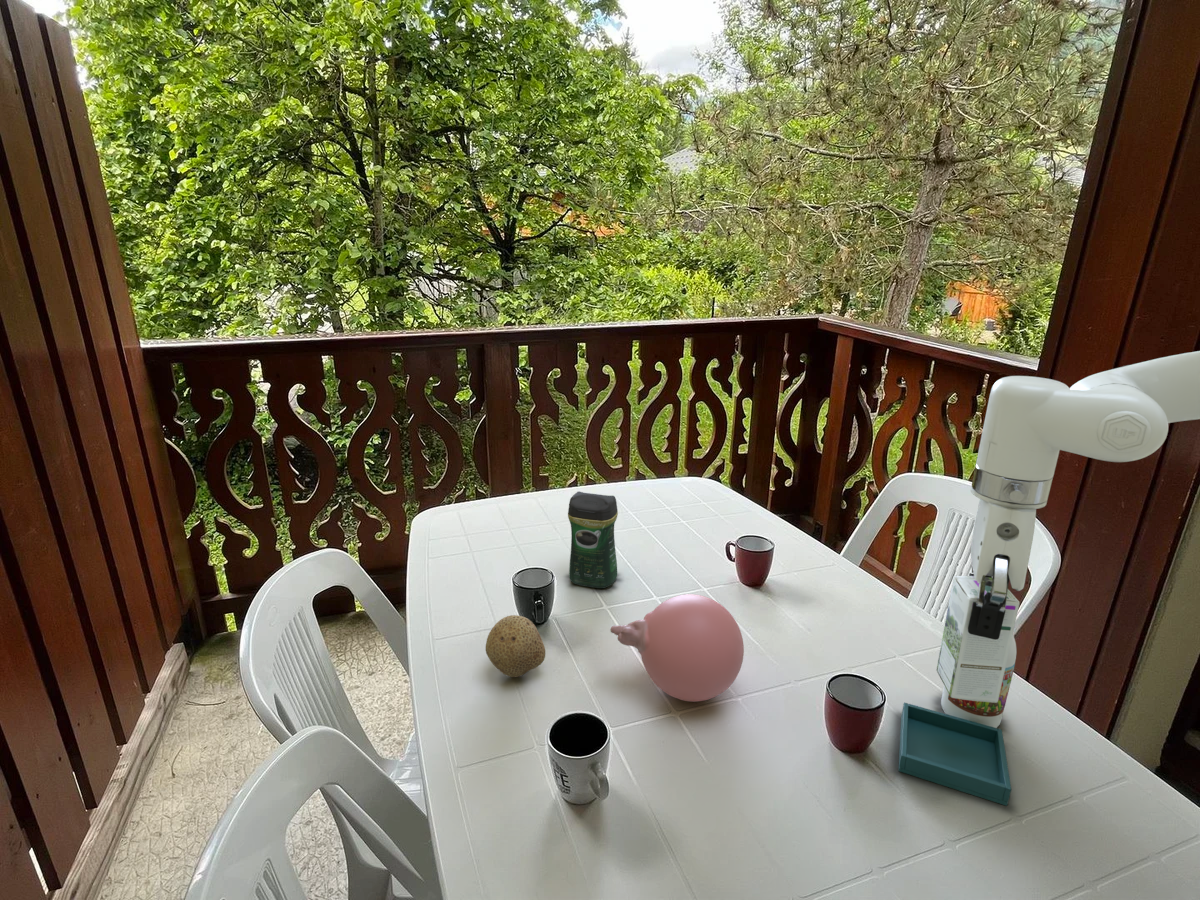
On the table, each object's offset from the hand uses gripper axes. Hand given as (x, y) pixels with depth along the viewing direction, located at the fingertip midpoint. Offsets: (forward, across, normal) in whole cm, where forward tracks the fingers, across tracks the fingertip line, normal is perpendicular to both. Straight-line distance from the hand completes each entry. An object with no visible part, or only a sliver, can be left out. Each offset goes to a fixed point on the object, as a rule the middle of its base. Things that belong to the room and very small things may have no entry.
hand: (980, 618), depth 79 cm
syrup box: (+10, 0, 0) cm, 10 cm away
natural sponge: (+22, -11, +62) cm, 67 cm away
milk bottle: (+22, +11, -3) cm, 24 cm away
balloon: (+22, -3, +38) cm, 44 cm away
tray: (+22, 0, 0) cm, 22 cm away
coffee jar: (+22, +21, +64) cm, 71 cm away
